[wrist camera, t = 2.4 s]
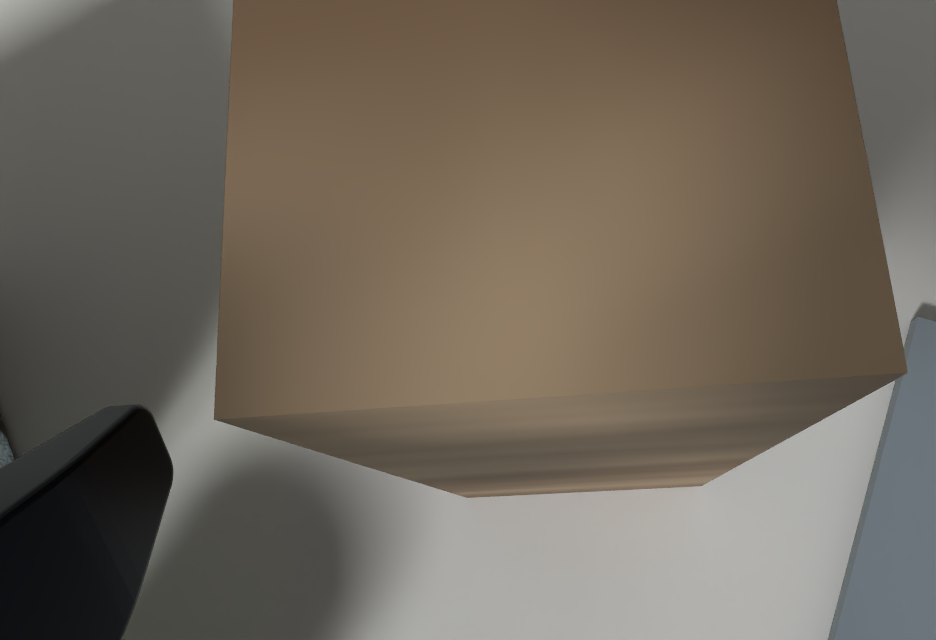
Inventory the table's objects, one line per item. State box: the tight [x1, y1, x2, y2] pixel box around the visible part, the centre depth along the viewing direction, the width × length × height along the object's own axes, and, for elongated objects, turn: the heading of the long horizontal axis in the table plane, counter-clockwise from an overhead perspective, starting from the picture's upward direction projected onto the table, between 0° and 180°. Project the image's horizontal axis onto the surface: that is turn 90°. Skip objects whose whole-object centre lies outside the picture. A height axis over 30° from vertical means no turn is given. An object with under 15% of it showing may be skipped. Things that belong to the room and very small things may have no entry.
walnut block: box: [214, 0, 908, 498], centre depth 12 cm, size 5×5×12 cm
